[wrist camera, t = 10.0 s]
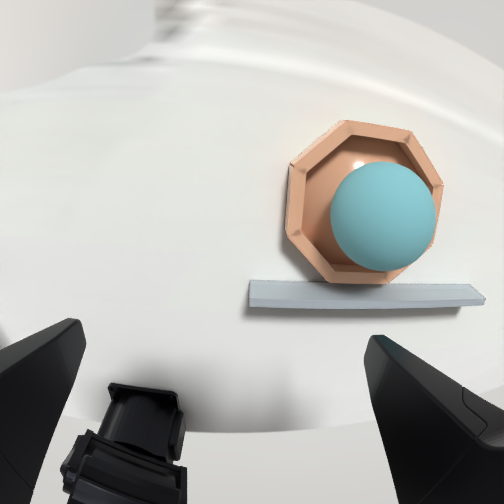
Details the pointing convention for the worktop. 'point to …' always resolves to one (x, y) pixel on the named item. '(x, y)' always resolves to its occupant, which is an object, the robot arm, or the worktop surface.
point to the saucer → (327, 181)
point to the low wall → (360, 295)
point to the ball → (383, 216)
